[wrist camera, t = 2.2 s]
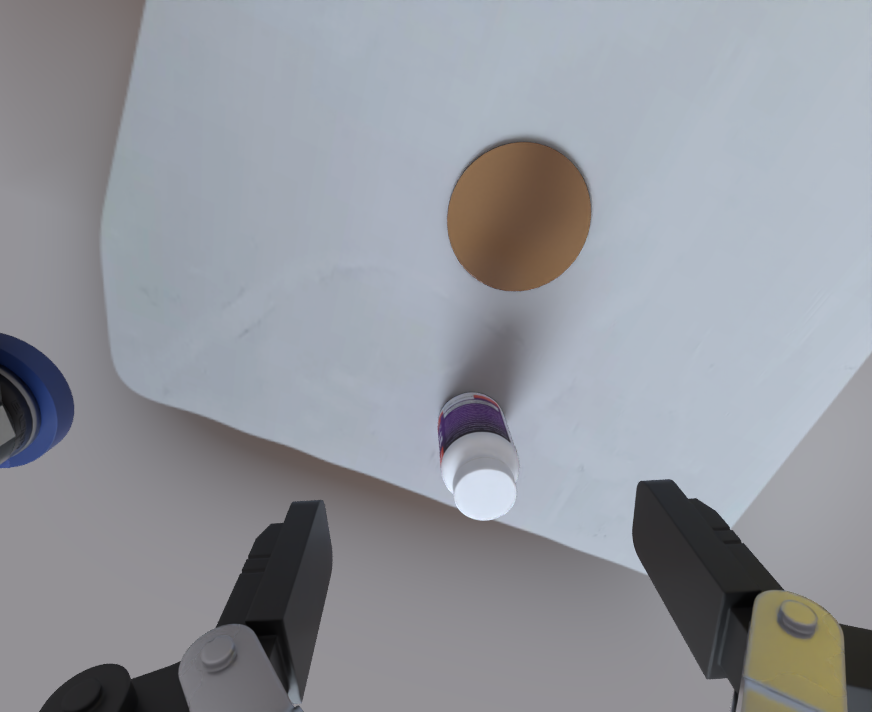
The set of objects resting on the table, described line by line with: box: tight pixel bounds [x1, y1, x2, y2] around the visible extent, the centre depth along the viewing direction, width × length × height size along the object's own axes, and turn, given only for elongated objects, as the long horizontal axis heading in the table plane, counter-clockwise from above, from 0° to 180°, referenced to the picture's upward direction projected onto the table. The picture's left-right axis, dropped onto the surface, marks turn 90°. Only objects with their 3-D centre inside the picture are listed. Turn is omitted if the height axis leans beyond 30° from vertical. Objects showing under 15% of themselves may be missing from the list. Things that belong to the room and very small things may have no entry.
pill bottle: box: [438, 392, 520, 520], centre depth 35 cm, size 5×5×10 cm
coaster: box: [447, 142, 591, 291], centre depth 34 cm, size 10×10×1 cm
